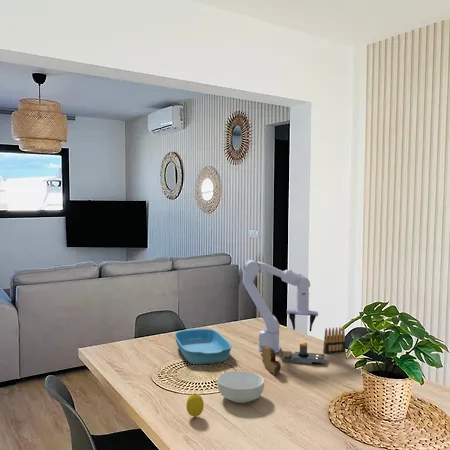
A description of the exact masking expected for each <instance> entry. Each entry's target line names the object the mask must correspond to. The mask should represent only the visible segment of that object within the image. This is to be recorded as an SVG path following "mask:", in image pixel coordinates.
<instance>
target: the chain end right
mask: <svg viewBox="0 0 450 450" xmlns="http://www.w3.org/2000/svg"><path fill="white" fill-rule="evenodd" d="M293 354H294V357H293V360H298V361H308V362H312V363H316V364H318V365H319V364H324V362H325V356H326V354H324V353H314V352H307V357H299V356H300V351H295V352H294V353H293Z"/></svg>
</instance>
